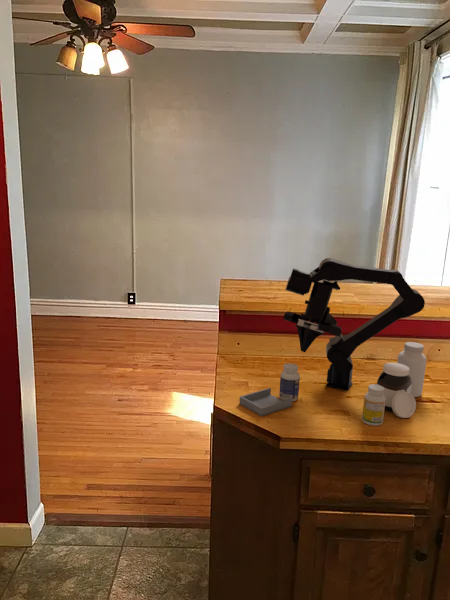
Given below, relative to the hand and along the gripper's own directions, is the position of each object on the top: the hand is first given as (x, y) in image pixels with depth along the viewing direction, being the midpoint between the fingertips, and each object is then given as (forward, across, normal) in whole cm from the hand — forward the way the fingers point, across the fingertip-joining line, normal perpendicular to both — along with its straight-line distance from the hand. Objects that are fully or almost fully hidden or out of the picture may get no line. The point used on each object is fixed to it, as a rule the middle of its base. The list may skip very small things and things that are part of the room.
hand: (302, 351), depth 157 cm
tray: (+17, -3, +11) cm, 20 cm away
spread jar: (+7, -24, -17) cm, 30 cm away
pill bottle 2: (+3, -18, -29) cm, 34 cm away
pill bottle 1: (+14, -3, +3) cm, 14 cm away
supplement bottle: (+12, -25, -6) cm, 28 cm away
